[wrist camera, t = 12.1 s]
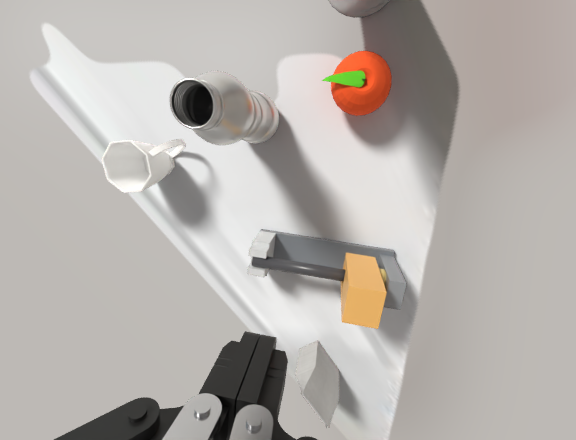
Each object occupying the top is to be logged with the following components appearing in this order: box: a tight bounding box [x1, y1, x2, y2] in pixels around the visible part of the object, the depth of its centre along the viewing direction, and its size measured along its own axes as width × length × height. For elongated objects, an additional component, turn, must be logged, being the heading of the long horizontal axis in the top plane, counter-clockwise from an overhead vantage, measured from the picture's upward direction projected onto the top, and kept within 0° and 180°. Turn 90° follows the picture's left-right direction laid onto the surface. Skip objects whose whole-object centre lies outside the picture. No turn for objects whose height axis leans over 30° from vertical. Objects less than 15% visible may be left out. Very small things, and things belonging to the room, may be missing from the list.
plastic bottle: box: [170, 71, 279, 145], centre depth 31 cm, size 6×7×20 cm
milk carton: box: [295, 340, 339, 427], centre depth 46 cm, size 4×7×10 cm, turn 34°
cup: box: [102, 139, 186, 193], centre depth 41 cm, size 7×10×8 cm
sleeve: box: [340, 253, 387, 329], centre depth 37 cm, size 4×5×10 cm
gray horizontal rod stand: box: [247, 229, 407, 310], centre depth 41 cm, size 20×5×9 cm, turn 83°
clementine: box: [322, 51, 392, 116], centre depth 35 cm, size 8×7×7 cm
